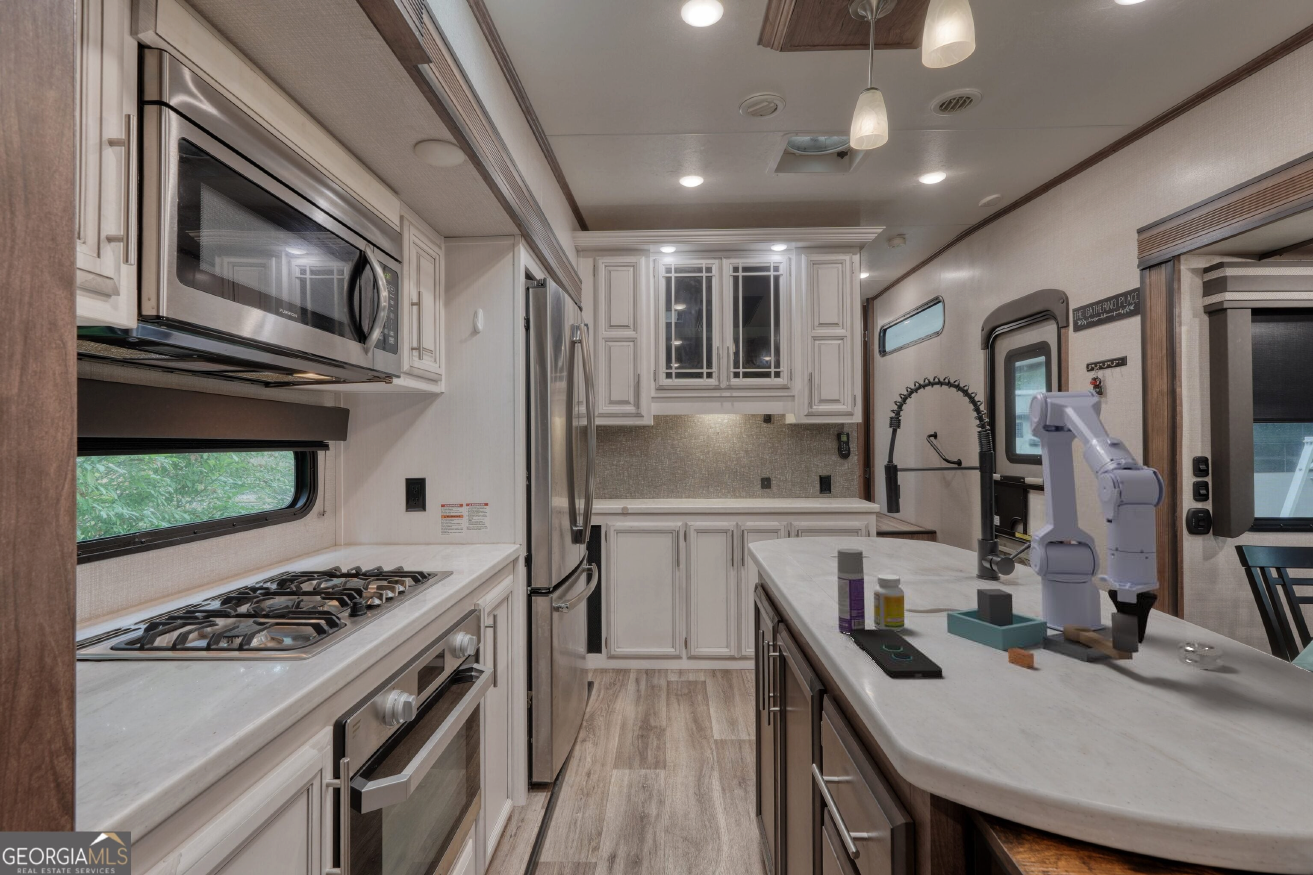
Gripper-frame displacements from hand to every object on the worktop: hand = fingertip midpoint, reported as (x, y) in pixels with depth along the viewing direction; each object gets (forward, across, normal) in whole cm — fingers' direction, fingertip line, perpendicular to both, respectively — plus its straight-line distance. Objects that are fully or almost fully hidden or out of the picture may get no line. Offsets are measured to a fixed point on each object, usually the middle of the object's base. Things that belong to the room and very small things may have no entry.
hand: (1133, 640), depth 87 cm
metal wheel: (+5, -10, +7) cm, 14 cm away
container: (+5, +9, -40) cm, 41 cm away
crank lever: (+2, -2, -4) cm, 5 cm away
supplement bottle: (+5, +2, -36) cm, 36 cm away
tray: (+5, -5, -20) cm, 21 cm away
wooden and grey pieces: (+5, 0, -10) cm, 11 cm away
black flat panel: (+5, +16, -30) cm, 34 cm away
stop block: (+4, -5, -20) cm, 21 cm away
